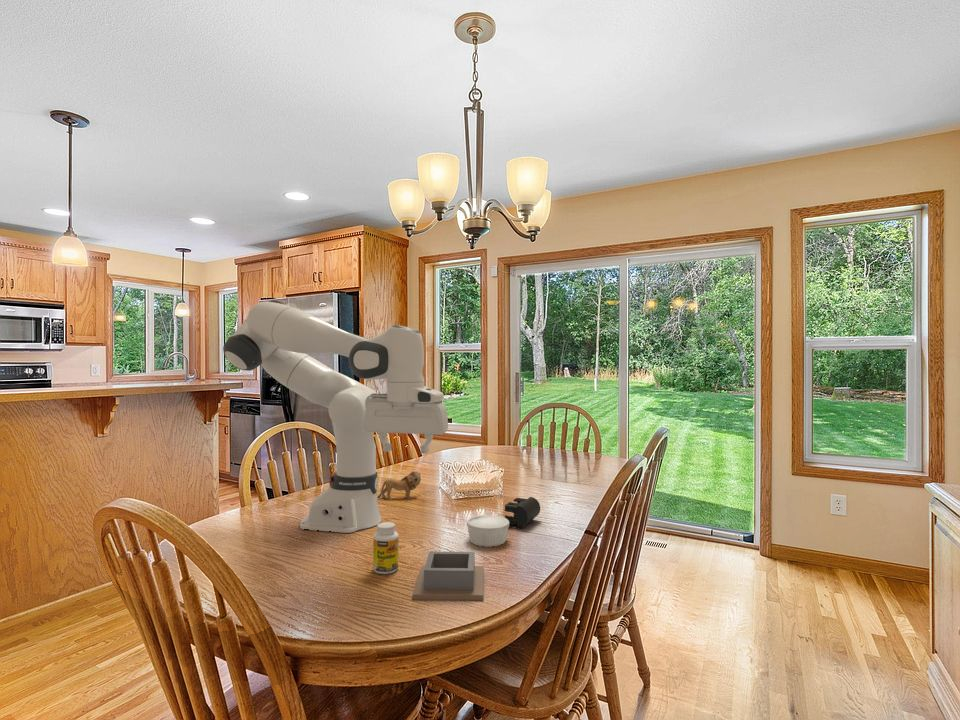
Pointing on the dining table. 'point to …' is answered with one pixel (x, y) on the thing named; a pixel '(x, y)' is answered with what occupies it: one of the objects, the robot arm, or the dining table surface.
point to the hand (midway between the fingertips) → (405, 452)
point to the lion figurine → (401, 485)
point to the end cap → (522, 511)
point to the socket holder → (450, 577)
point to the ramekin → (488, 530)
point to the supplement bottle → (385, 549)
